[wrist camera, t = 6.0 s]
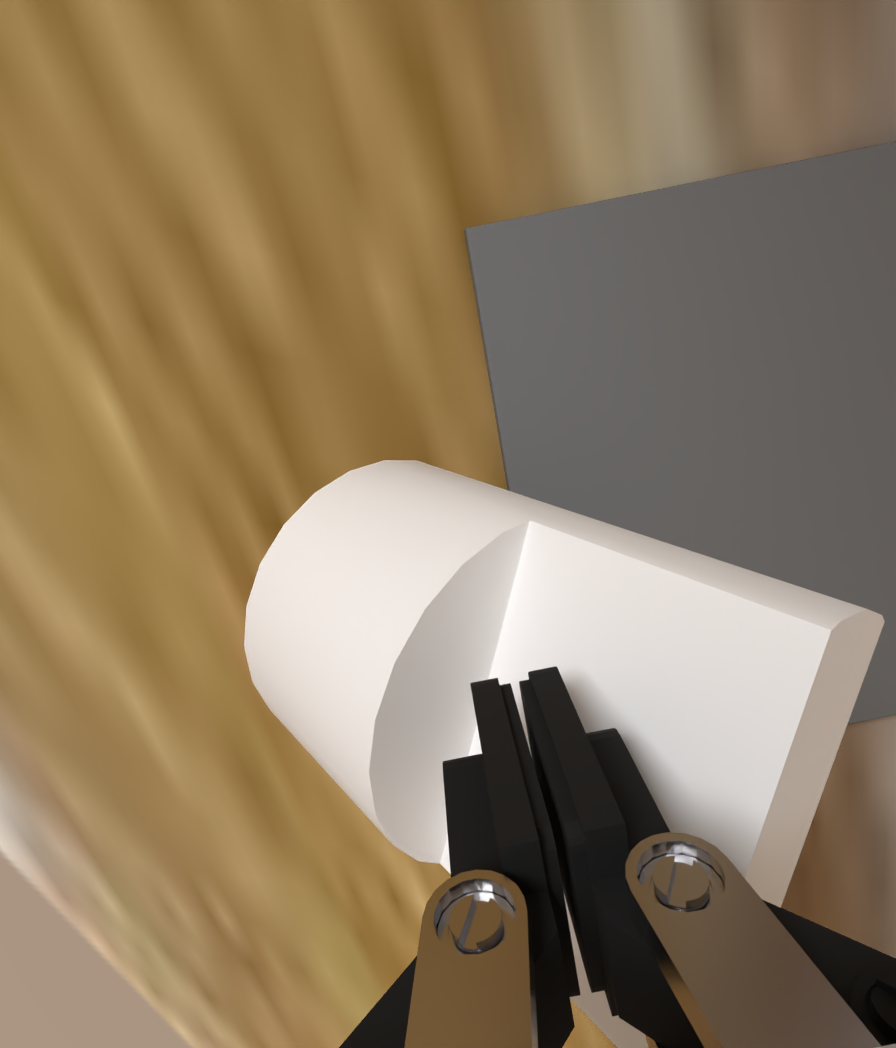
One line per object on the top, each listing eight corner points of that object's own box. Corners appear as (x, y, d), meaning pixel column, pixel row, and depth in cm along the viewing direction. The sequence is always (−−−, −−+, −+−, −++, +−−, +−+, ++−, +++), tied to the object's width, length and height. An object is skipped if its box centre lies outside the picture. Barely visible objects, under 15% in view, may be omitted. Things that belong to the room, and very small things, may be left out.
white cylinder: (455, 714, 23) (790, 966, 15) (216, 761, 17) (552, 1239, 9) (515, 477, 22) (926, 602, 13) (279, 436, 16) (756, 619, 7)
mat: (464, 231, 19) (465, 228, 18) (1116, 99, 19) (1138, 91, 18) (555, 772, 25) (558, 782, 24) (1048, 672, 25) (1063, 680, 24)
